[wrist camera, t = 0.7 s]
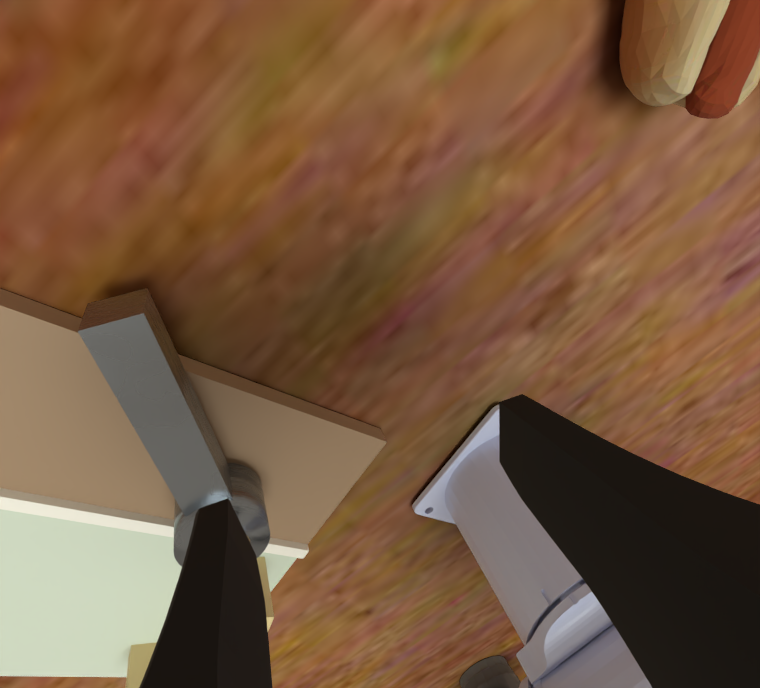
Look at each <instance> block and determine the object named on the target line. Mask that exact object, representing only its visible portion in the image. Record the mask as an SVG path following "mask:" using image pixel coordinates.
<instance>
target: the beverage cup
mask: <svg viewBox="0 0 760 688" xmlns="http://www.w3.org/2000/svg"><path fill="white" fill-rule="evenodd" d="M520 683H521V682H520V680H519V679H518V677H517V676H516V675H515V674H514V672H513V670H512V669H511V667H510V666H509V665H508V663H507V661H506V659H505V658H504V657H503V656H492V657H489V658H486V659H484V660H482V661H479V662H477V663H476V664H474V665H473V666H471V667H470V668H469V669H468V670H467V671H466V672H465V673H464V674H463V675H462V677H461V679H460V685H461V687H462V688H519V685H520Z"/></svg>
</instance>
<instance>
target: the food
mask: <svg viewBox="0 0 760 688" xmlns="http://www.w3.org/2000/svg"><path fill="white" fill-rule="evenodd" d="M620 68H621V73H622V77H623V80H624V83H625V85H626V86H627V87H628V89H629V90H630V91H631V93H632V94H633V95H634V96H635V97H636V98H637V99H638V100H640V101H641V102H643V103H644V104H647V105H650V106H654V107H655V106H664V105H668V104H672V103H673V104H676V105H679V106H682V107H685V108H686V109H687V111H688V112H689V113H690V114H691V115H694V116H697V117H701V118H707V119H710V118H719V117H722V116H724V115H726V114H728V113H729V112H730V111H731V110H732V108H734V107H736V106H739V105H740V104H741V103H742V102H743V101H744V100H745V99H746V98H747V96H748V95H749V94H750V93H751V92H752V91H753V90H754V88H755V87H756V86H757V84H758V81H759V79H760V0H626V1H625V7H624V15H623V22H622V37H621V40H620Z"/></svg>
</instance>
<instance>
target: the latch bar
mask: <svg viewBox="0 0 760 688" xmlns="http://www.w3.org/2000/svg"><path fill="white" fill-rule="evenodd" d="M78 333H79V334H80V336H81V338H82V340H83V341H84V343H85V345H86V346H87V348H88V350H89V352H90V353H91V355H92V357H93V358H94V360H95V362H96V364H97V365H98V367H99V369H100V371H101V372H102V374H103V376H104V377H105V379H106V381H107V383H108V384H109V386H110V388H111V389H112V391H113V393H114V395H115V396H116V398H117V400H118V402H119V403H120V405H121V407H122V408H123V410H124V412H125V414H126V415H127V417H128V419H129V420H130V422H131V424H132V426H133V427H134V429H135V431H136V433H137V434H138V436H139V438H140V439H141V441H142V443H143V445H144V446H145V448H146V450H147V451H148V453H149V455H150V457H151V458H152V460H153V462H154V464H155V465H156V467H157V469H158V470H159V472H160V474H161V476H162V477H163V479H164V481H165V483H166V484H167V486H168V488H169V489H170V491H171V493H172V495H173V496H174V498H175V504H174V557H175V559H176V561H177V562H178V564H179V565H180V566H182V565H183V562H184V559H185V555H186V551H187V548H188V544H189V540H190V536H191V532H192V528H193V524H194V519H195V515H196V513H197V511H198V510H199V508H202V507H205V506H208V505H210V504H213V503H216V502H219V501H222V500H225V499H227V498H229V500H230V502H231V504H232V506H233V508H234V510H235V513H236V515H237V517H238V519H239V521H240V523H241V525H242V527H243V529H244V531H245V533H246V535H247V536H248V537H249V539H250V544H251V546H252V548H253V550H254V552H255V554H256V557H257V558H258V557H259V556H260V555H261V554H262V553H263V552H264V550H265V549H266V547H267V545H268V543H269V540H270V528H269V523H268V517H267V511H266V506H265V500H264V494H263V488H262V483H261V480H260V478H259V476H258V475H257V474H256V473H255V472H254V471H253V470H252V469H250V468H248V467H246V466H244V465H241V464H236V463H227V461H226V458H225V456H224V454H223V452H222V450H221V448H220V445H219V443H218V441H217V439H216V437H215V434H214V432H213V430H212V428H211V426H210V424H209V421H208V419H207V417H206V415H205V413H204V410H203V408H202V406H201V404H200V402H199V399H198V397H197V395H196V393H195V391H194V389H193V386H192V384H191V382H190V380H189V378H188V375H187V373H186V371H185V369H184V367H183V364H182V362H181V360H180V358H179V356H178V354H177V351H176V349H175V347H174V345H173V343H172V340H171V338H170V336H169V334H168V332H167V330H166V327H165V325H164V323H163V321H162V319H161V316H160V314H159V312H158V310H157V308H156V305H155V303H154V301H153V299H152V297H151V295H150V292H149V290H148V288H146V289H142V290H138V291H134V292H130V293H126V294H123V295H119V296H115V297H111V298H107V299H103V300H100V301H96V302H92V303H88V304H87V307H86V310H85V313H84V315H83V318H82V321H81V323H80V326H79V329H78Z"/></svg>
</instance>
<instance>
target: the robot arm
mask: <svg viewBox="0 0 760 688" xmlns="http://www.w3.org/2000/svg"><path fill="white" fill-rule="evenodd" d="M412 508H413V510H414V512H415V513H416V514H418V515H422V516H426V517H429V518H433V519H437V520H441V521H445V522H449V523H453V524H456V525H457V527H458V529H459V531H460V532H461V534H462V536H463V538H464V539H465V541H466V543H467V545H468V546H469V548H470V550H471V552H472V554H473V555H474V557H475V559H476V561H477V562H478V564H479V566H480V568H481V570H482V571H483V573H484V575H485V577H486V578H487V580H488V582H489V584H490V586H491V587H492V589H493V591H494V593H495V594H496V596H497V598H498V600H499V601H500V603H501V605H502V607H503V609H504V610H505V612H506V614H507V616H508V617H509V619H510V621H511V623H512V625H513V626H514V628H515V630H516V632H517V633H518V635H519V637H520V639H521V640H522V642H523V644H524V647H523V648H522V649H521V650H520V651H519V652H517V654H516V656H517V658H518V660H519V662H520V664H521V666H522V667H523V669H524V671H525V673H526V675H527V677H526V678H524V679H523V680H522V681H521V683H520V685H519V688H760V505H759V504H756V503H753V502H750V501H747V500H744V499H741V498H738V497H736V496H733V495H730V494H727V493H725V492H722V491H719V490H716V489H714V488H711V487H709V486H706V485H704V484H701V483H699V482H696V481H694V480H691V479H689V478H686V477H684V476H681V475H679V474H677V473H674V472H672V471H670V470H667V469H665V468H663V467H660V466H658V465H656V464H654V463H652V462H650V461H648V460H645V459H643V458H641V457H639V456H637V455H635V454H633V453H631V452H628V451H626V450H624V449H622V448H620V447H618V446H616V445H614V444H612V443H611V442H609V441H607V440H605V439H603V438H601V437H599V436H597V435H595V434H593V433H591V432H590V431H588V430H586V429H584V428H582V427H580V426H578V425H577V424H575V423H573V422H571V421H569V420H568V419H566V418H564V417H562V416H560V415H559V414H557V413H555V412H553V411H551V410H550V409H548V408H546V407H544V406H543V405H541V404H539V403H537V402H535V401H534V400H532V399H530V398H528V397H526V396H525V395H523V394H521V395H519V396H516V397H513V398H510V399H507V400H504V401H502V402H499V405H496V406H494V407H493V408H492V409H491V410H490V411H489V413H488V414H487V415H486V416H485V418H484V419H483V420H482V421H481V422H480V424H479V425H478V426H477V427H476V428H475V430H474V431H473V432H472V433H471V434H470V436H469V437H468V438H467V439H466V440H465V442H464V443H463V444H462V445H461V446H460V448H459V449H458V450H457V451H456V452H455V454H454V455H453V456H452V457H451V458H450V460H449V461H448V462H447V463H446V464H445V466H444V467H443V468H442V469H441V470H440V472H439V473H438V474H437V475H436V476H435V478H434V479H433V480H432V481H431V482H430V484H429V485H428V486H427V487H426V488H425V490H424V491H423V492H422V493H421V494H420V496H419V497H418V498H417V499H416V501H415V502H414V503H413V505H412ZM139 688H272V678H271V666H270V654H269V641H268V630H267V618H266V607H265V599H264V593H263V588H262V583H261V578H260V573H259V568H258V563H257V557H256V554H255V552H254V550H253V548H252V546H251V544H250V541H249V539H248V537H247V535H246V533H245V531H244V529H243V527H242V525H241V523H240V521H239V519H238V517H237V515H236V513H235V510H234V508H233V506H232V504H231V502H230V500H229V498H227V499H225V500H222V501H219V502H216V503H213V504H210V505H208V506H205V507H202V508H199V510H198V511H197V513H196V515H195V519H194V524H193V528H192V532H191V536H190V540H189V544H188V548H187V551H186V555H185V559H184V562H183V565H182V569H181V572H180V576H179V579H178V582H177V585H176V588H175V591H174V594H173V597H172V601H171V604H170V607H169V610H168V613H167V616H166V619H165V622H164V624H163V627H162V630H161V633H160V635H159V638H158V641H157V643H156V646H155V648H154V651H153V654H152V656H151V659H150V662H149V664H148V667H147V670H146V672H145V675H144V677H143V680H142V682H141V685H140V687H139Z"/></svg>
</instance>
